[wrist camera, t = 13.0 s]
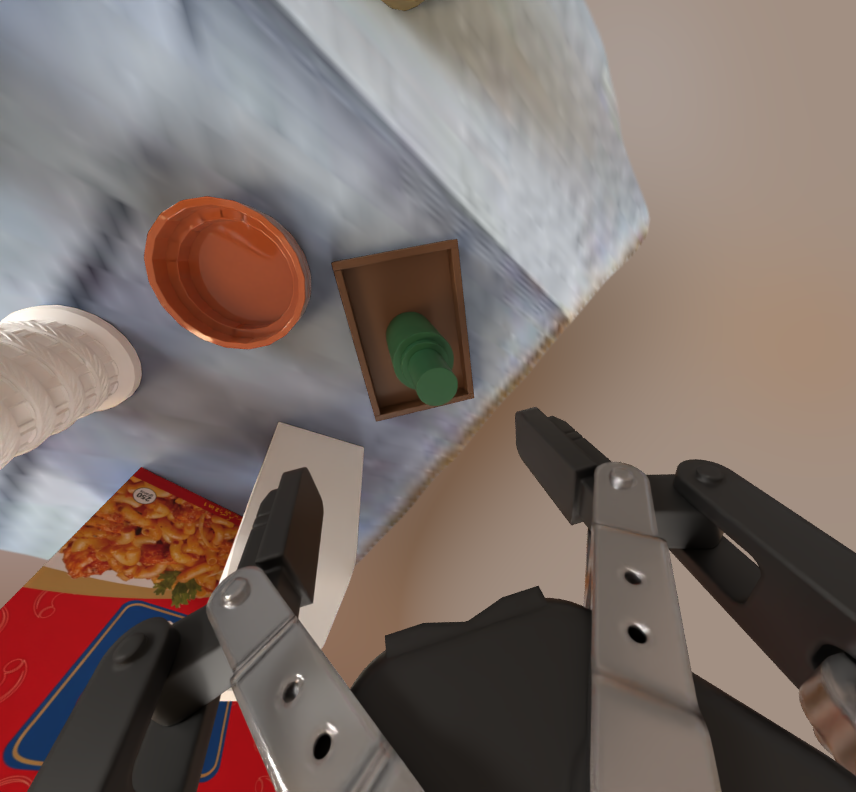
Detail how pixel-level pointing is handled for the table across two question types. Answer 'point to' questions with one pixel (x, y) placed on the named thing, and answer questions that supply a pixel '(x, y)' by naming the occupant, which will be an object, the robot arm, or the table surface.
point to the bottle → (422, 358)
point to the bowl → (227, 272)
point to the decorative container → (58, 373)
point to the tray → (397, 293)
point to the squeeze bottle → (402, 4)
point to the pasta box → (115, 622)
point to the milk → (340, 493)
